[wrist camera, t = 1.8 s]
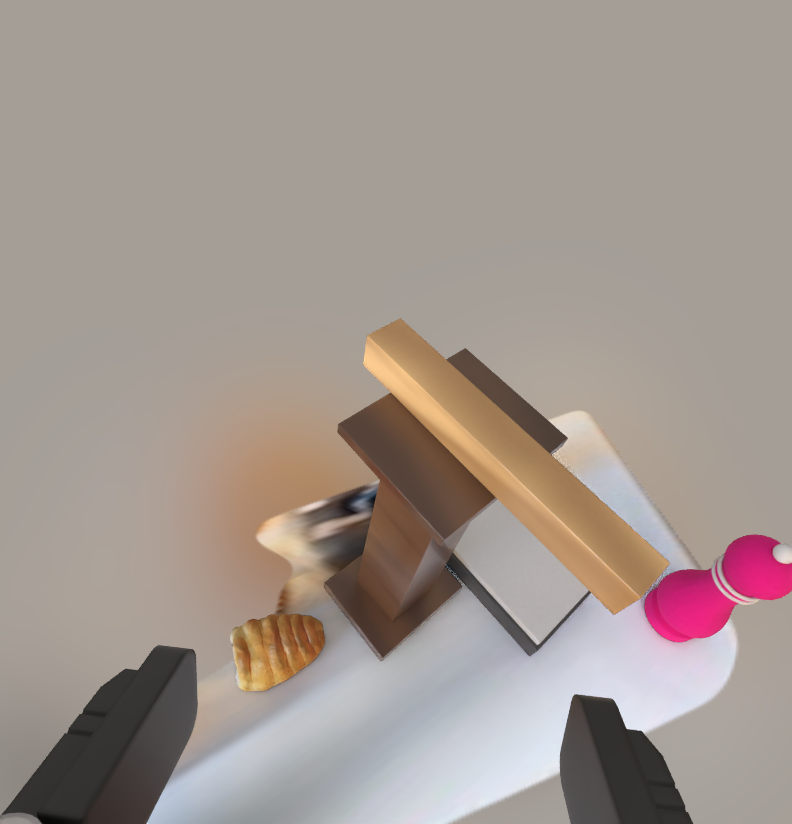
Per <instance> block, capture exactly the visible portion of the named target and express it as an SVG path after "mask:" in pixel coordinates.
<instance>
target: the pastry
mask: <svg viewBox="0 0 792 824" xmlns="http://www.w3.org/2000/svg"><path fill="white" fill-rule="evenodd" d="M230 639H231V644H232V646H233V654H234V660H235V664H236V666H237V669H236V674H235V677H236V680H237V685H238V686H239V688H240V689H242V690H244V691H265V690H268V689H270V688H271V687H273V686H275V685H277V684H279V683H281V682H284V681H286V680H288V679H289V678H291V677H292V676H293V675H295V674H296V673H297V672H298V671H300V670H301V669H303V668H304V667H305V666H307V665H309V664H310V663H311V662H312V661H314V660H315V659H316V657H317V656H318V655H319V653H320V652H321V650H322V648H323V646H324V645H325V635H324V631H323V625H322V623H321V622H320V621H319V620H317V619H316V618H314V617H312V616H309V615H308V616H306V615H300V614H289V615H288V614H282V615H272V614H271V615H269V616H267V617H266V618H262V619H260V620H256V619H251V620H249V621H247V622H246V623H245V624H244V625H242V626H240V627H235V628H234V629H233V630H232V631H231V635H230Z"/></svg>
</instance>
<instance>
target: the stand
mask: <svg viewBox="0 0 792 824" xmlns="http://www.w3.org/2000/svg"><path fill="white" fill-rule="evenodd" d="M446 360H447V361H448V362H449V363H450V364H451V365H453V366H454V367H455V368H456V369H457V370H458V371H459V372H460V373H461V374H463V375H464V376H465V377H466V378H467V379H468V380H469V381H470V382H471V383H472V384H474V385H475V386H476V387H477V388H478V389H479V390H480V391H481V392H482V393H483V394H485V395H486V396H487V397H488V398H489V399H490V400H491V401H492V402H493V403H494V404H496V405H497V406H498V407H499V408H500V409H501V410H502V411H503V412H504V413H505V414H507V415H508V416H509V417H510V418H511V419H512V420H513V421H514V422H515V423H516V424H518V425H519V426H520V427H521V428H522V429H523V430H524V431H525V432H526V433H528V434H529V435H530V436H531V437H532V438H533V439H534V440H535V441H536V442H537V443H539V444H540V445H541V446H542V447H543V448H544V449H545V450H546V451H547V452H548V453H550V454H551V455H552V454H553V453H554V452H556V451H557V450H558V449H559V448H560V447H562V446H563V444H564V443H565V442H566V440H567V439H568V438H567V437H566V436H565V435H564V434H563V433H562V432H560V431H559V430H558V429H557V428H556V427H555V426H554V425H552V424H551V423H550V422H549V421H548V420H547V419H545V418H544V417H543V416H542V415H541V414H540V413H539V412H537V411H536V410H535V409H534V408H533V407H532V406H531V405H530V404H529V403H527V402H526V401H525V400H524V399H523V398H521V396H519V395H518V394H517V393H516V392H514V391H513V390H512V389H511V388H510V387H509V386H508V385H507V384H506V383H505V382H503V381H502V380H501V379H500V378H499V377H498V376H497V375H495V374H494V373H493V372H492V371H491V370H490V369H489V368H487V367H486V366H485V365H484V364H483V363H482V362H481V361H479V360H478V359H477V358H476V357H475V356H474V355H473V354H472V353H470V352H469V351H468V350H467V349H466V348H465V349H463V350H461V351H460V352H458V353H457V354H455V355H453V356H451V357H450V358H448V359H446ZM338 434H339V435H340V436H341V437H342V438H343V439H344V440H345V441H346V442H347V443H348V445H349V446H350V447H351V448H352V449H353V450H354V451H355V452H356V453H357V454H358V456H359V457H360V458H361V459H362V460H363V461H364V462H365V463H366V465H368V467H369V468H370V469H371V470H372V471H373V472H374V473H375V474H376V475H377V477H378V478H379V479H380V482H379V487H378V491H377V495H376V500H375V504H374V509H373V513H372V517H371V522H370V526H369V530H368V535H367V539H366V543H365V548H364V552H363V554H362V555H360V556H359V557H358V558H356V559H355V560H354V561H352V562H351V563H350V564H348V565H347V566H346V567H344V568H343V569H342V570H341V571H339V572H338V573H337V574H335V575H334V576H333V577H331V578H330V579H329V580H327V581H326V582H325V583H324V588H325V589H326V590H327V592H328V593H329V594H330V596H331V597H332V598H333V600H334V601H335V602H336V603H337V605H338V606H339V607H340V609H341V610H342V611H343V613H344V614H345V615H346V617H347V618H348V619H349V620H350V622H351V623H352V624H353V626H354V627H355V628H356V630H357V631H358V632H359V634H360V635H361V636H362V637H363V639H364V640H365V641H366V643H367V644H368V645H369V647H370V648H371V649H372V651H373V652H374V653H375V654H376V656H377V657H378V658H379V660H380V661H382V660H383V659H384V658H385V657H386V656H388V655H389V654H390V653H391V652H392V651H393V650H394V649H395V648H396V647H398V646H399V645H400V644H401V643H402V642H403V641H404V640H405V639H406V638H408V637H409V636H410V635H411V634H412V633H413V632H414V631H415V630H416V629H417V628H419V627H420V626H421V625H422V624H423V623H424V622H425V621H426V620H427V619H429V618H430V617H431V616H432V615H433V614H434V613H435V612H436V611H437V610H439V609H440V608H441V607H442V606H443V605H444V604H445V603H446V602H447V601H448V600H450V599H451V598H452V597H453V596H454V595H455V594H456V593H457V592H458V591H460V589H461V588H462V585H461V584H460V583H459V582H458V581H457V580H456V578H455V577H454V576H453V575H452V574H451V573H450V572H449V571H448V569H447V568H446V567H445V565H446V563H447V562H448V560H449V558H450V556H451V555H452V553H453V551H454V550H455V548H456V546H457V544H458V543H459V541H460V539H461V537H462V536H463V534H464V532H465V531H466V529H467V527H468V525H469V524H470V522H471V521H472V520H473V519H475V518H476V517H477V516H478V515H479V514H481V513H482V512H483V511H484V510H485V509H487V508H488V507H489V506H490V505H491V504H493V503H494V502H495V501H496V500H498V499H497V498H496V497H495V496H494V495H493V494H492V493H491V492H490V491H489V490H488V489H487V488H486V487H485V486H484V485H483V484H482V483H481V482H480V481H479V480H478V479H477V478H476V477H475V476H474V475H473V474H472V473H471V472H470V471H469V470H468V469H467V468H466V467H465V466H464V465H463V464H462V463H461V462H460V461H459V460H458V459H457V458H456V457H455V456H454V455H453V454H452V453H451V452H450V451H449V450H448V449H447V448H446V447H445V446H444V445H443V444H442V443H441V442H440V441H439V440H438V439H437V438H436V437H435V436H434V435H433V434H432V433H431V432H430V431H429V430H428V429H427V428H426V427H425V426H424V425H423V424H422V423H421V422H420V421H419V420H418V419H417V418H416V417H415V416H414V415H413V414H412V413H411V412H410V411H409V410H408V409H407V408H406V407H405V406H404V405H403V404H402V403H401V402H400V401H399V400H398V399H397V398H396V397H395V396H394V395H393V394H392V393H390V394H388V395H386V396H384V397H383V398H381V399H380V400H378V401H376V402H374V403H373V404H371V405H369V406H368V407H366V408H364V409H363V410H361V411H359V412H358V413H356V414H354V415H353V416H351V417H349V418H348V419H346V420H344V421H343V422H341V423H339V424H338Z"/></svg>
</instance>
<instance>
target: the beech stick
mask: <svg viewBox="0 0 792 824" xmlns="http://www.w3.org/2000/svg"><path fill="white" fill-rule="evenodd" d="M363 365H364V366H365V367H366V368H367V369H368V370H369V371H370V372H371V373H372V374H373V375H374V376H375V377H376V378H377V379H378V380H379V381H380V382H381V383H382V384H383V385H384V386H385V387H386V388H387V389H388V390H389V391H390V392H391V393H392V394H393V395H394V396H395V397H396V398H397V399H398V400H399V401H400V402H401V403H402V404H403V405H404V406H405V407H406V408H407V409H408V410H409V411H410V412H411V413H412V414H413V415H414V416H415V417H416V418H417V419H418V420H419V421H420V422H421V423H422V424H423V425H424V426H425V427H426V428H427V429H428V430H429V431H430V432H431V433H432V434H433V435H434V436H435V437H436V438H437V439H438V440H439V441H440V442H441V443H442V444H443V445H444V446H445V447H446V448H447V449H448V450H449V451H450V452H451V453H452V454H453V455H454V456H455V457H456V458H457V459H458V460H459V461H460V462H461V463H462V464H463V465H464V466H465V467H466V468H467V469H468V470H469V471H470V472H471V473H472V474H473V475H474V476H475V477H476V478H477V479H478V480H479V481H480V482H481V483H482V484H483V485H484V486H485V487H486V488H487V489H488V490H489V491H490V492H491V493H492V494H493V495H494V496H495V497H496V498H497V499H498V500H499V501H500V502H501V503H502V504H503V505H504V506H505V507H506V508H507V509H508V510H509V511H510V512H511V513H512V514H513V515H514V516H515V517H516V518H517V519H518V520H519V521H520V522H521V523H522V524H523V525H524V526H525V527H526V528H527V529H528V530H529V531H530V532H531V533H532V534H533V535H534V536H535V537H536V538H537V539H538V540H539V541H540V542H541V543H542V544H543V545H544V546H545V547H546V548H547V549H548V550H549V551H550V552H551V553H552V554H553V555H554V556H555V557H556V558H557V559H558V560H559V561H560V562H561V563H562V564H563V565H564V566H565V567H566V568H567V569H568V570H569V571H570V572H571V573H572V574H573V575H574V576H575V577H576V578H577V579H578V580H579V581H580V582H581V583H582V584H583V585H584V586H585V587H586V588H587V589H588V590H589V591H590V592H591V593H592V594H593V595H594V596H595V597H596V598H597V599H598V600H599V601H600V602H601V603H602V604H603V605H604V606H605V607H606V608H607V609H608V610H609V611H610V612H611V613H612V614H613V615H614V614H616V613H618V612H619V611H621V610H623V609H624V608H626V607H627V606H629V605H631V604H632V603H634V602H635V601H637V600H639V599H640V598H641V597H642V596H643V595H644V594H645V593H646V591H647V590H648V589H649V588H650V587H651V585H652V584H653V583H654V582H655V581H656V580H657V578H658V577H659V576H660V575H661V574H662V572H663V571H664V570H665V569H666V568H667V566H668V565H669V564H670V562H669V561H667V560H666V559H665V558H664V557H663V556H662V555H661V554H660V553H659V552H658V551H656V550H655V549H654V548H653V547H652V546H651V545H650V544H649V543H648V542H647V541H645V540H644V539H643V538H642V537H641V536H640V535H639V534H638V533H637V532H636V531H634V530H633V529H632V528H631V527H630V526H629V525H628V524H627V523H626V522H624V521H623V520H622V519H621V518H620V517H619V516H618V515H617V514H616V513H615V512H613V511H612V510H611V509H610V508H609V507H608V506H607V505H606V504H605V503H604V502H602V501H601V500H600V499H599V498H598V497H597V496H596V495H595V494H594V493H593V492H591V491H590V490H589V489H588V488H587V487H586V486H585V485H584V484H583V483H582V482H580V481H579V480H578V479H577V478H576V477H575V476H574V475H573V474H572V473H570V472H569V471H568V470H567V469H566V468H565V467H564V466H563V465H562V464H561V463H559V462H558V461H557V460H556V459H555V458H554V457H553V456H552V455H551V454H550V453H548V452H547V451H546V450H545V449H544V448H543V447H542V446H541V445H540V444H539V443H537V442H536V441H535V440H534V439H533V438H532V437H531V436H530V435H529V434H528V433H526V432H525V431H524V430H523V429H522V428H521V427H520V426H519V425H518V424H516V423H515V422H514V421H513V420H512V419H511V418H510V417H509V416H508V415H507V414H505V413H504V412H503V411H502V410H501V409H500V408H499V407H498V406H497V405H496V404H494V403H493V402H492V401H491V400H490V399H489V398H488V397H487V396H486V395H485V394H483V393H482V392H481V391H480V390H479V389H478V388H477V387H476V386H475V385H474V384H472V383H471V382H470V381H469V380H468V379H467V378H466V377H465V376H464V375H463V374H461V373H460V372H459V371H458V370H457V369H456V368H455V367H454V366H453V365H451V364H450V363H449V362H448V361H447V360H446V359H445V358H444V357H442V356H441V355H440V354H439V353H438V352H437V351H436V350H435V349H434V348H433V347H432V346H431V345H429V344H428V343H427V342H426V341H425V340H424V339H423V338H422V337H421V336H419V335H418V334H417V333H416V332H415V331H414V330H413V329H412V328H411V327H410V326H408V325H407V324H406V323H405V322H404V321H403V320H402V319H398V320H396V321H394V322H392V323H390V324H388V325H386V326H385V327H382V328H381V329H379V330H377V331H375V332H373V333H371V334H369V335H367V340H366V348H365V356H364V363H363Z"/></svg>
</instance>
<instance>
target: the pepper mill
mask: <svg viewBox="0 0 792 824" xmlns="http://www.w3.org/2000/svg"><path fill="white" fill-rule="evenodd" d="M791 591H792V546H790V545H788V544H781V543H779V542H778V541H776V540H774V539H772V538H770V537H766V536H763V535H746V536H743V537H741V538H738V539H736V540H734V541H733V542H732V543H731V544H730V545H729V546H728V548H727V550H726V552H725V553H724V554H723V555H721V556H719V557H718V558H716V559H715V560H714V562H713V564H712V568H711V569H709V570H694V569H687V570H679V571H676V572H673V573H671V574H669V575H667V576H666V577H665V578H664V579H663V580H662V581H661V582H660V584H659V586H658V587H657V588H655V589H654V590H652V591H651V592H650V593H649V594H648V595H647V598H646V600H645V612H646V616H647V618H648V620H649V622H650V624H651V625H652V627H653V628H654V629H655V630H656V631H657V632H658V633H659V634H660V635H661V636H663V637H664V638H666V639H668V640H671V641H674V642H685V641H688V640H690V639H692V638H706V637H710V636H712V635H714V634H715V633H717V632H718V631H720V630H721V629H722V628H723V627H724V625H725V624H726V623H727V621H728V619H729V617H730V615H731V612H732V610H733V608H734V606H735V605H737V604H738V603H739V604H744V605H748V604H753V603H755V602H757V601H760V600H774V599H778V598H782V597H783V596H785V595H787V594H789V593H790V592H791Z"/></svg>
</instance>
